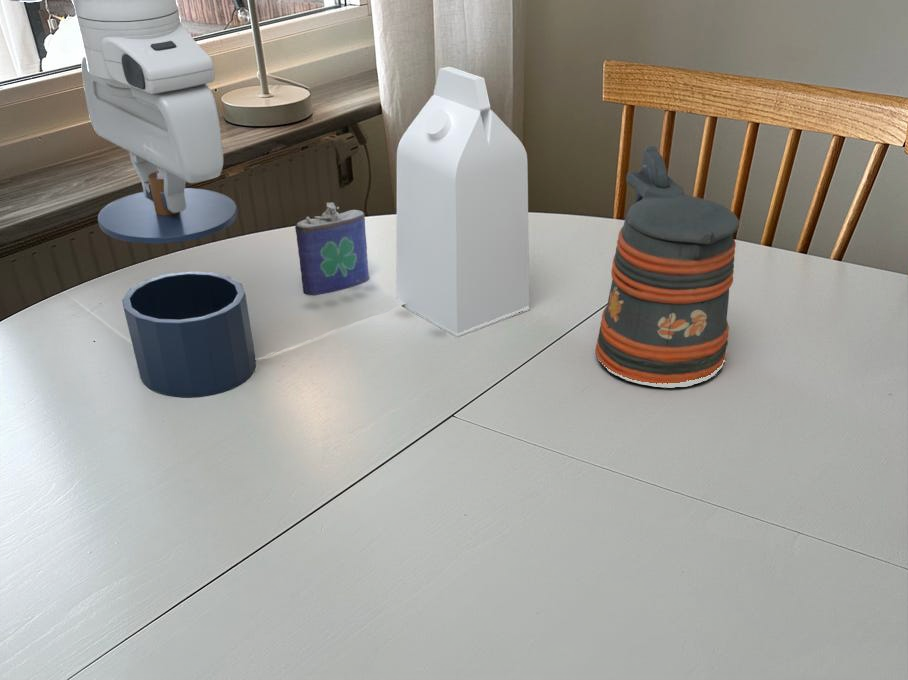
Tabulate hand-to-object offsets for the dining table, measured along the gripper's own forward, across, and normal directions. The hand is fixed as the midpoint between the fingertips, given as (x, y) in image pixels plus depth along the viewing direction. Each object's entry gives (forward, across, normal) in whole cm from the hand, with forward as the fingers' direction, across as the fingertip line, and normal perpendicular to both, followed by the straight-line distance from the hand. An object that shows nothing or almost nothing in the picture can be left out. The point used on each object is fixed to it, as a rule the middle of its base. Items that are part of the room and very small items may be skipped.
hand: (166, 204), depth 101 cm
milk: (+18, +7, +33) cm, 38 cm away
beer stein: (+18, +30, +42) cm, 55 cm away
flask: (+18, -7, +24) cm, 31 cm away
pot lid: (+1, 0, 0) cm, 1 cm away
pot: (+18, 0, 0) cm, 18 cm away
